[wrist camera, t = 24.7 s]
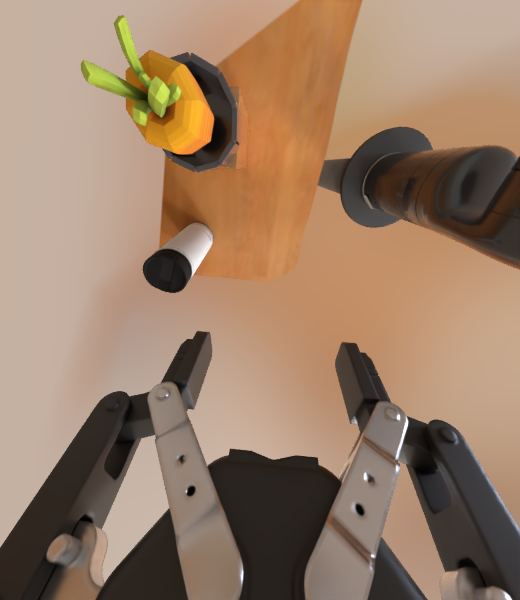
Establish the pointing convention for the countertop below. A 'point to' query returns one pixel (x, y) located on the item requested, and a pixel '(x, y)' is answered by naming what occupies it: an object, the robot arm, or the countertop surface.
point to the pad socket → (217, 121)
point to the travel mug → (178, 258)
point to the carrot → (158, 97)
